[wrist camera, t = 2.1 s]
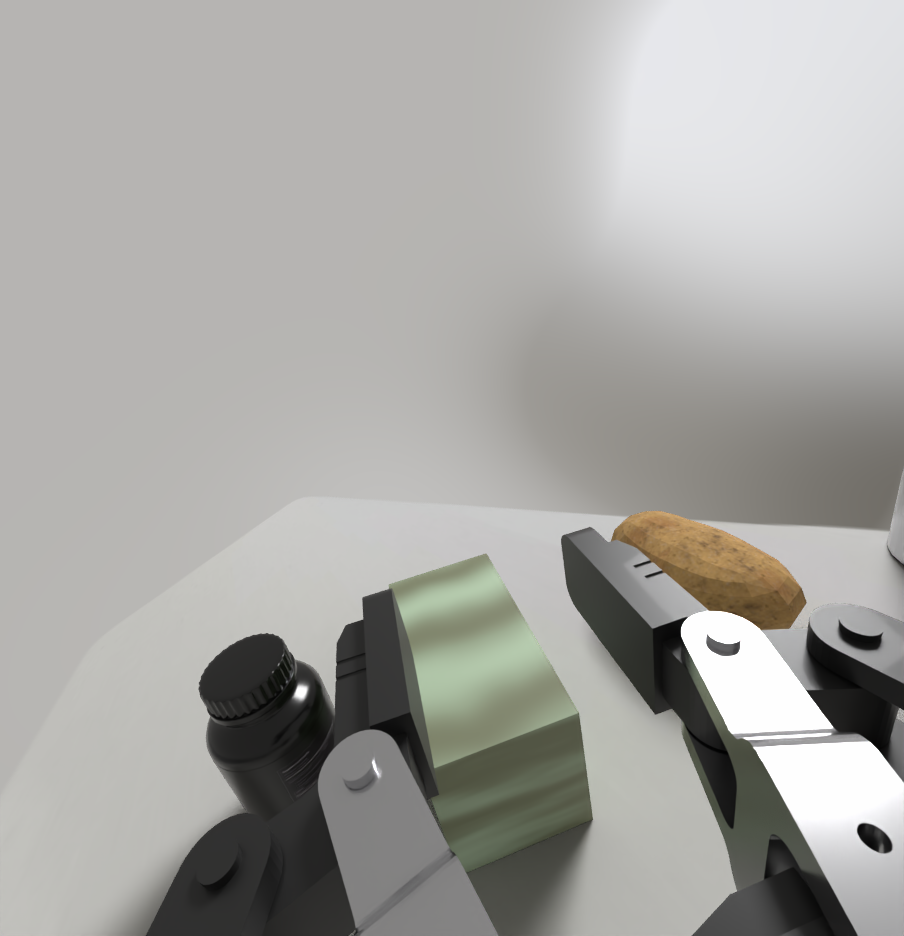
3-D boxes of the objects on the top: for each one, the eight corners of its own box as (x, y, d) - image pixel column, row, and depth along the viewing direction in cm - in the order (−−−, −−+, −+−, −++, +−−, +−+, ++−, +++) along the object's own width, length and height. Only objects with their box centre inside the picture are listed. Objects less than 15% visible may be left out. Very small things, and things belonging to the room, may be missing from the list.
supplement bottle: (236, 825, 29) (150, 696, 24) (310, 730, 34) (251, 610, 30) (312, 874, 26) (229, 736, 21) (380, 761, 31) (326, 631, 26)
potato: (750, 710, 29) (758, 616, 26) (589, 600, 41) (582, 526, 38) (829, 635, 33) (845, 544, 30) (661, 554, 44) (659, 483, 41)
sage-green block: (593, 820, 25) (578, 712, 22) (459, 877, 24) (421, 773, 21) (504, 637, 39) (486, 553, 35) (415, 668, 38) (388, 584, 34)
